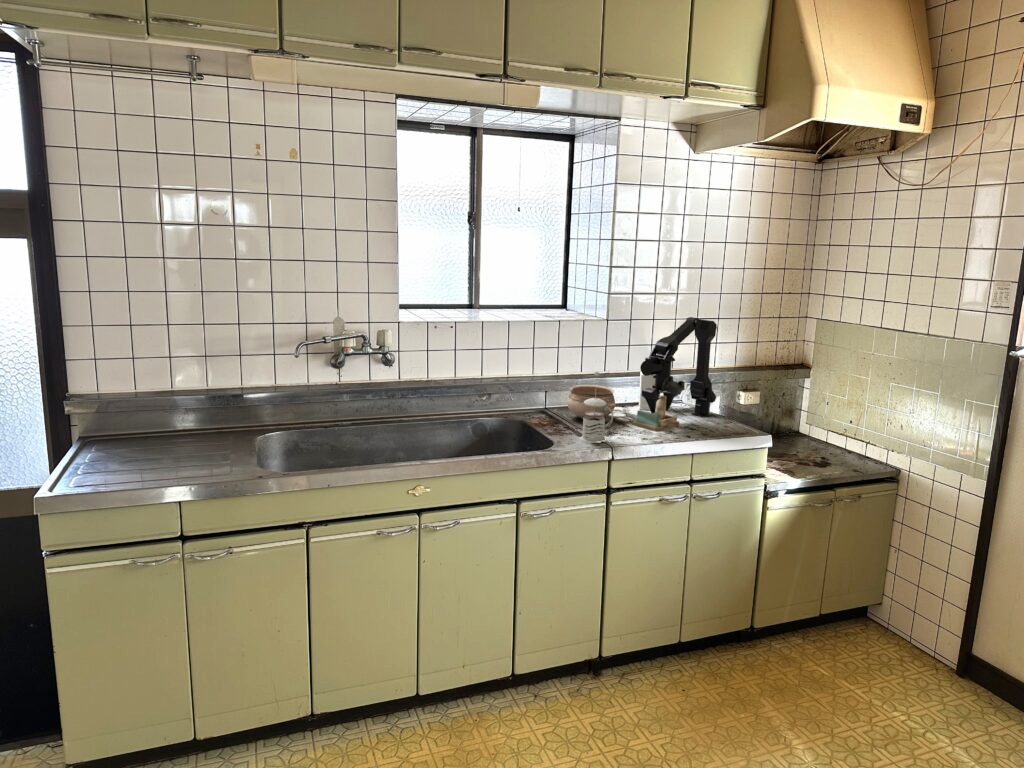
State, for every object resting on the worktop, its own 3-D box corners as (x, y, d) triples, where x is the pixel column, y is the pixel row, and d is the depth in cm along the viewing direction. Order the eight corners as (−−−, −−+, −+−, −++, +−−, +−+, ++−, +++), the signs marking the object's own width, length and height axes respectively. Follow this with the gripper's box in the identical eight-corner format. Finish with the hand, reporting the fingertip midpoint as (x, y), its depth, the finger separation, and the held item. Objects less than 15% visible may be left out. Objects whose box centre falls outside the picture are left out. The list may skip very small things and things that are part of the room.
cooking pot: (551, 416, 287) (552, 386, 284) (584, 409, 299) (585, 381, 296) (596, 430, 268) (598, 398, 266) (629, 422, 280) (632, 392, 277)
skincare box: (657, 407, 307) (660, 371, 303) (658, 411, 300) (661, 374, 297) (637, 406, 308) (640, 370, 304) (638, 409, 301) (641, 373, 298)
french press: (577, 435, 260) (580, 368, 255) (608, 436, 261) (612, 369, 256) (581, 443, 251) (585, 374, 245) (614, 443, 251) (618, 374, 246)
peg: (658, 419, 282) (660, 394, 280) (666, 421, 279) (668, 396, 277) (652, 420, 280) (654, 395, 277) (660, 422, 277) (662, 397, 275)
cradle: (656, 418, 287) (657, 405, 286) (679, 424, 279) (680, 410, 278) (632, 424, 277) (633, 410, 276) (655, 431, 269) (656, 416, 268)
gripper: (666, 379, 263) (663, 420, 267) (694, 373, 276) (691, 412, 279) (641, 374, 271) (639, 414, 275) (670, 369, 284) (667, 407, 287)
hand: (660, 412), depth 279 cm, fingers open, 9 cm apart
